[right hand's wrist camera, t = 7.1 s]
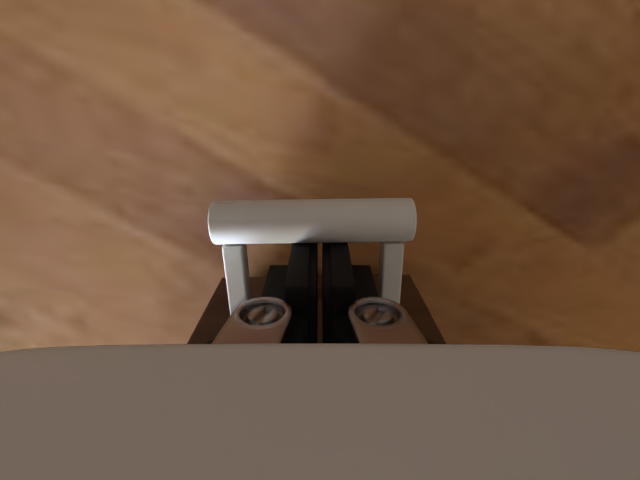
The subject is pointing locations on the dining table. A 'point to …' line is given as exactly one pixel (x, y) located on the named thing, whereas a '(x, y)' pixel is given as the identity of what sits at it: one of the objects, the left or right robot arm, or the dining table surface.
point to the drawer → (311, 227)
